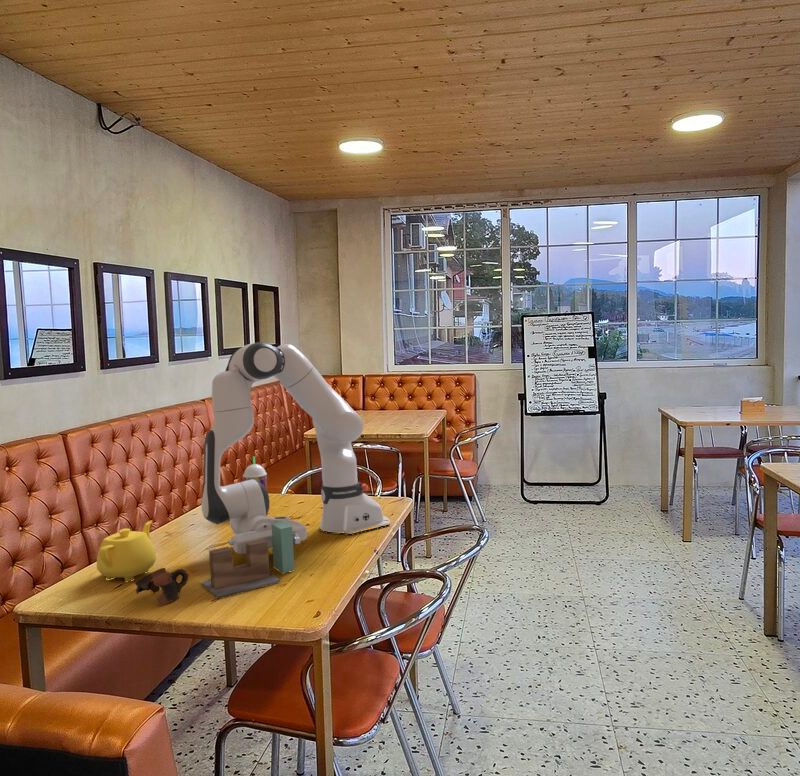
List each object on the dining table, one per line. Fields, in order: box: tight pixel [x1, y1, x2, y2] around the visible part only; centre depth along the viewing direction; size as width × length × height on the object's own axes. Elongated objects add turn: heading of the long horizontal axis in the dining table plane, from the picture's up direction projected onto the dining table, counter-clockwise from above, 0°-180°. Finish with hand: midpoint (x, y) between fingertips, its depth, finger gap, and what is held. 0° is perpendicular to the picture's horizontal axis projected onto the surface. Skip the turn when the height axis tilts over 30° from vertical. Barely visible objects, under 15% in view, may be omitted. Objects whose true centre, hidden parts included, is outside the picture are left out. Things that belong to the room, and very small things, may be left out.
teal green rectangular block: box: [271, 522, 295, 574], centre depth 171 cm, size 6×3×12 cm, turn 34°
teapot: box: [96, 520, 157, 582], centre depth 173 cm, size 13×20×12 cm
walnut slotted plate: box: [201, 539, 281, 599], centre depth 163 cm, size 12×16×10 cm
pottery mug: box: [135, 567, 189, 607], centre depth 156 cm, size 12×10×8 cm
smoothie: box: [242, 456, 268, 491], centre depth 230 cm, size 8×8×20 cm
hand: (281, 544), depth 172 cm, fingers open, 8 cm apart
